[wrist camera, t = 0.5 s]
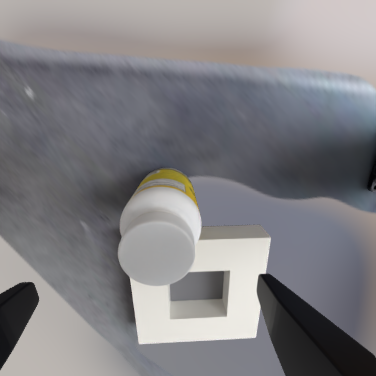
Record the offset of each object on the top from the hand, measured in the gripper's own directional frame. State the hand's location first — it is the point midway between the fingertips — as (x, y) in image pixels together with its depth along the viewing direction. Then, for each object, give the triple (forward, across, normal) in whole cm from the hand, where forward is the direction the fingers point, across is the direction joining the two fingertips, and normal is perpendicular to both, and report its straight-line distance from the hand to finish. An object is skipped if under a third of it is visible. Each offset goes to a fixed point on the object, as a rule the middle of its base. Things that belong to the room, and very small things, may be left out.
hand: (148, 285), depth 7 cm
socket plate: (+12, -3, +11) cm, 17 cm away
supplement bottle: (+12, 0, 0) cm, 12 cm away
